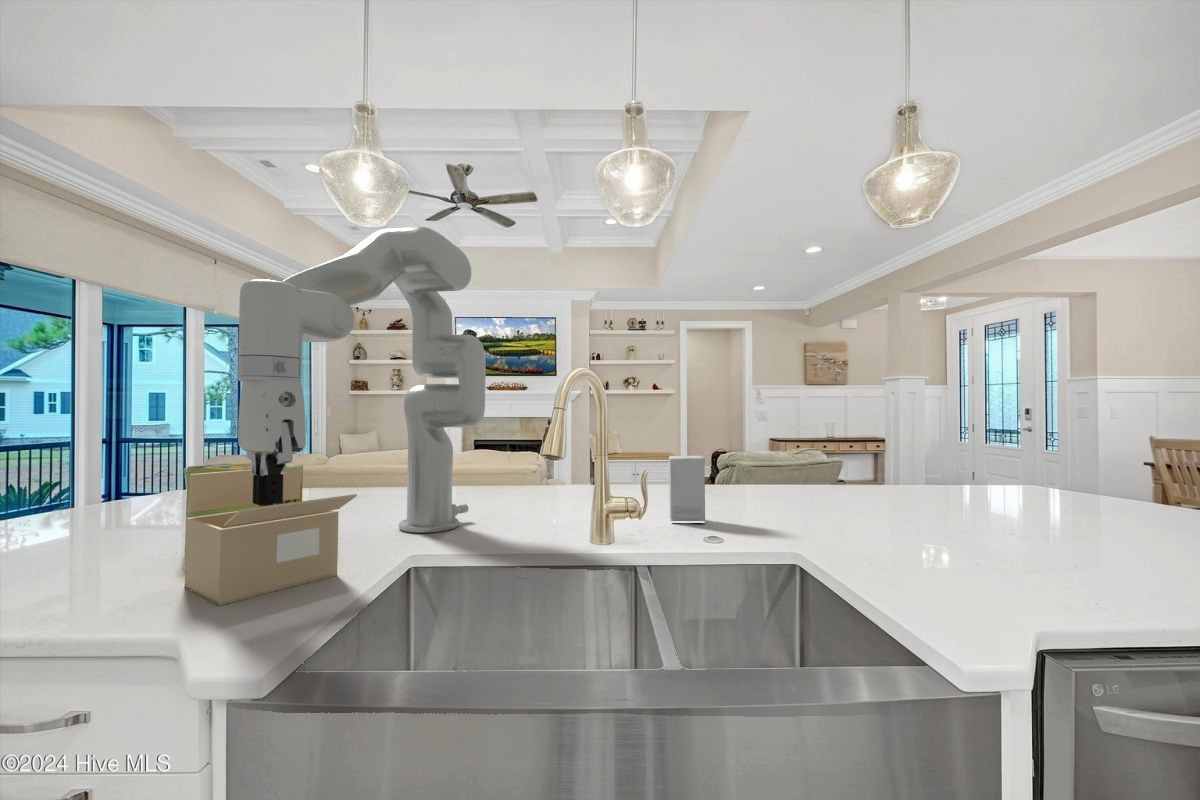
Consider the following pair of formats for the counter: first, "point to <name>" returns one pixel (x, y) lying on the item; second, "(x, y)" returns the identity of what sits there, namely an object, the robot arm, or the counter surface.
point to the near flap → (288, 509)
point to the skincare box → (687, 488)
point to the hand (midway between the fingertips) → (267, 503)
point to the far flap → (234, 488)
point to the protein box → (223, 469)
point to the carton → (258, 554)
